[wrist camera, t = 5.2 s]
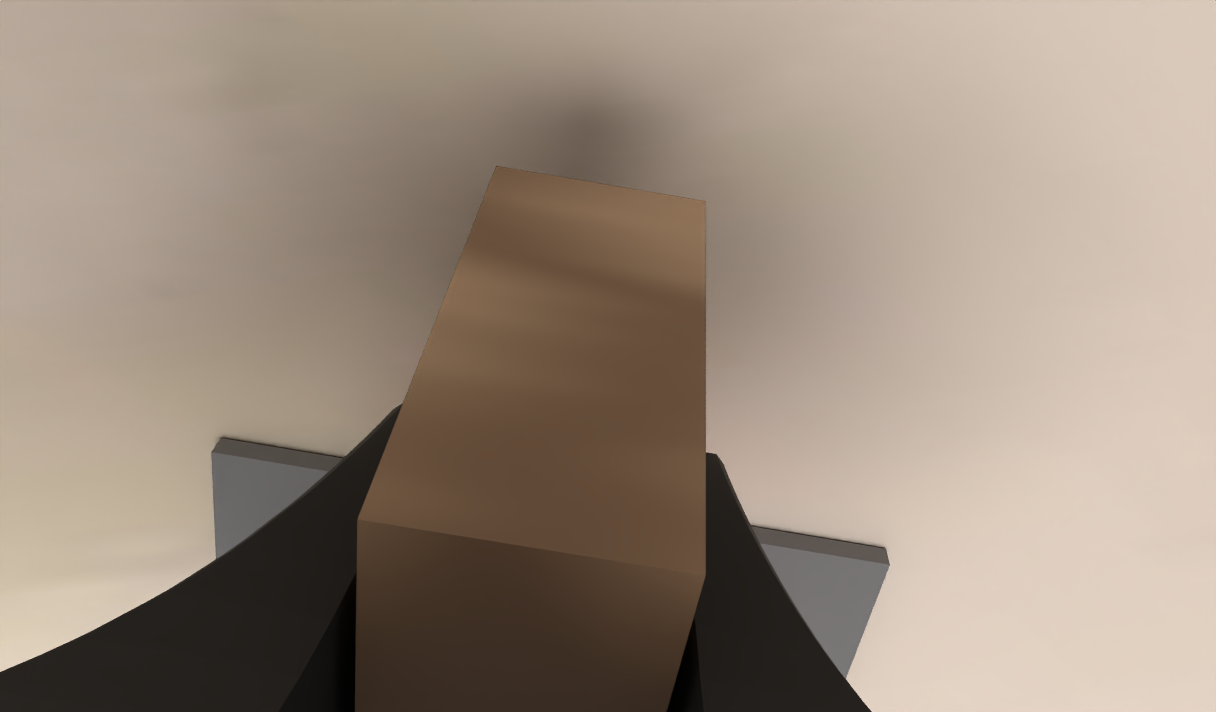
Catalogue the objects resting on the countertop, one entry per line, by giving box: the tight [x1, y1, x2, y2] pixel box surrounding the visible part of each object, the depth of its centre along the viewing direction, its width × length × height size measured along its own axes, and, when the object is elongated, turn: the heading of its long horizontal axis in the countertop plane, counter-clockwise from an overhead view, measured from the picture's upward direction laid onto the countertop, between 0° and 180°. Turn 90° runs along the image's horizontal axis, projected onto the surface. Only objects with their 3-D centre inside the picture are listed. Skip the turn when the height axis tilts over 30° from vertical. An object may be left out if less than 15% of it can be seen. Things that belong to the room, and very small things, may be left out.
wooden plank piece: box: [355, 166, 706, 712], centre depth 13 cm, size 2×10×6 cm, turn 171°
